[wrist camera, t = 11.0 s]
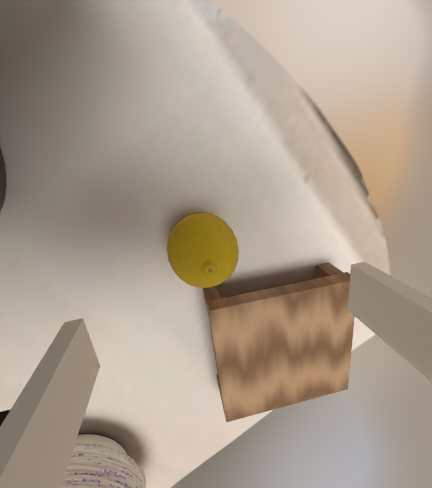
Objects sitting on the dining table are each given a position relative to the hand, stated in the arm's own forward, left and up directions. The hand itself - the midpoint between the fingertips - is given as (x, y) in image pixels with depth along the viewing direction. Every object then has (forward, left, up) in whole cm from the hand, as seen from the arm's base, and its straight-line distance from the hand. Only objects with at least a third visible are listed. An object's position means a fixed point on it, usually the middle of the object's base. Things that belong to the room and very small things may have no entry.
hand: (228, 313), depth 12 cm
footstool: (+12, 0, -10) cm, 16 cm away
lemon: (0, 0, -13) cm, 13 cm away
